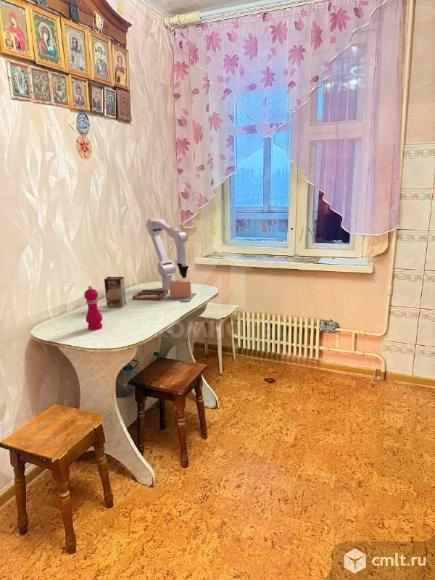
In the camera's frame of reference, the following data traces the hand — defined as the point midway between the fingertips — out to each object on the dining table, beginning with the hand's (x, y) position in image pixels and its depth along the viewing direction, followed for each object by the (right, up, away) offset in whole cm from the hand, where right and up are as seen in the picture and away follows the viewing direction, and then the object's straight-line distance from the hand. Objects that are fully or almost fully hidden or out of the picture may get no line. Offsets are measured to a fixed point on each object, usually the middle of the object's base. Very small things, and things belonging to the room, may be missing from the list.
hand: (183, 276), depth 232 cm
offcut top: (-19, -13, -6) cm, 24 cm away
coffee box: (-34, -17, -18) cm, 42 cm away
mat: (-1, -12, -6) cm, 14 cm away
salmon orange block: (-1, -12, -5) cm, 13 cm away
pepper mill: (-36, -26, -49) cm, 66 cm away
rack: (-18, -12, -3) cm, 22 cm away
